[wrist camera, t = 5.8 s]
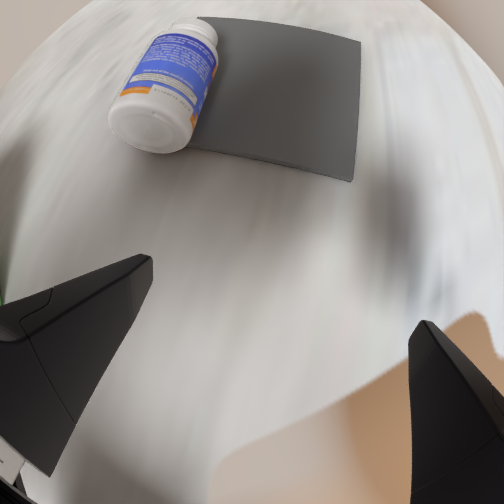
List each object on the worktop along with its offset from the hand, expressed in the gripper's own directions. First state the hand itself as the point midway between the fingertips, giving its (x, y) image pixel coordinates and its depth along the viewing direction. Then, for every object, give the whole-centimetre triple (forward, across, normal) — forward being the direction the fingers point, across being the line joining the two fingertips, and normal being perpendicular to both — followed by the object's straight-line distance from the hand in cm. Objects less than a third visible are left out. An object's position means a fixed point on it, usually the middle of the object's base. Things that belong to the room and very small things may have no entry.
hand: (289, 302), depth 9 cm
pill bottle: (+8, +9, -2) cm, 13 cm away
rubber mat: (+17, +5, -7) cm, 19 cm away
